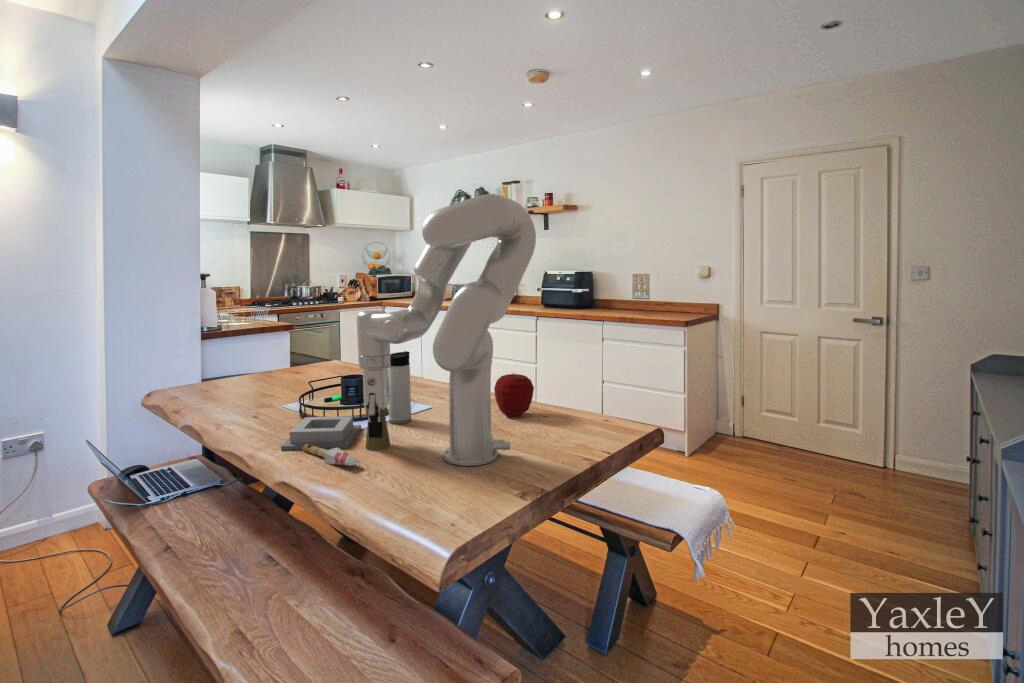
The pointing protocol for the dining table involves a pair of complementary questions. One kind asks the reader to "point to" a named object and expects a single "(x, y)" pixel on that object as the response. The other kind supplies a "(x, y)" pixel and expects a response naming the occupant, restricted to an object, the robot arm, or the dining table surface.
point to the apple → (513, 394)
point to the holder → (323, 433)
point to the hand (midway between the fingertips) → (377, 433)
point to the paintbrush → (332, 455)
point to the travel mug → (399, 388)
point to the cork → (379, 442)
